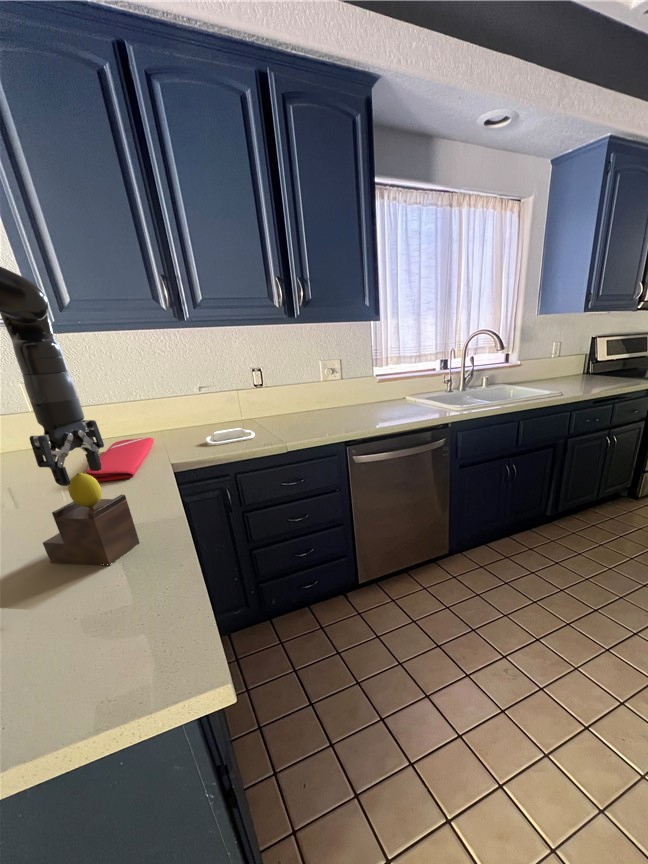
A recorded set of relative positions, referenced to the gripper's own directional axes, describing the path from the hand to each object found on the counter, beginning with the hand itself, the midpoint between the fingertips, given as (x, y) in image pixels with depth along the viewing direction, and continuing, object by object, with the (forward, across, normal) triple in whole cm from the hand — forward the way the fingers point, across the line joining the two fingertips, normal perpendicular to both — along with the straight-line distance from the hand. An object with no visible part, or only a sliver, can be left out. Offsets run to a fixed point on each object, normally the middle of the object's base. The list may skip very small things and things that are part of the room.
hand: (81, 477), depth 88 cm
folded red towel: (+18, -61, -40) cm, 75 cm away
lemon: (+7, 0, 0) cm, 7 cm away
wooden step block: (+18, 0, -2) cm, 18 cm away
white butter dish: (+18, -92, -13) cm, 95 cm away
